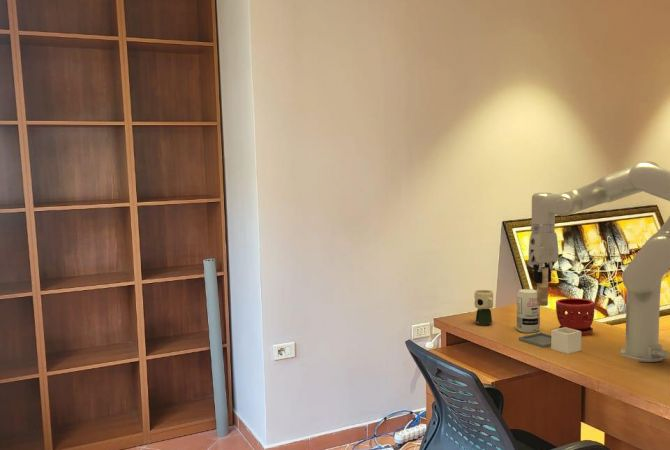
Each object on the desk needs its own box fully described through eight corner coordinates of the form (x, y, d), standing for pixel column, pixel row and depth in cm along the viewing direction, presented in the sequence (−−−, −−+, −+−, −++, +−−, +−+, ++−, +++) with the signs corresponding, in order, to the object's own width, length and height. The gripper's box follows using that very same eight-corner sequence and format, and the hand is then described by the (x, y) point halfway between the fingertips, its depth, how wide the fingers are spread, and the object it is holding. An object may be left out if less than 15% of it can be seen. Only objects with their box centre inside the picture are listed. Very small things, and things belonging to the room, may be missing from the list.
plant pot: (596, 330, 232) (597, 298, 231) (590, 339, 221) (591, 306, 220) (559, 326, 239) (559, 295, 238) (552, 335, 228) (552, 302, 226)
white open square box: (581, 352, 208) (581, 331, 207) (567, 355, 204) (567, 334, 204) (564, 347, 213) (565, 327, 213) (551, 350, 210) (551, 330, 209)
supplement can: (523, 326, 241) (523, 287, 239) (543, 330, 235) (543, 290, 233) (512, 330, 235) (512, 291, 233) (532, 334, 229) (533, 294, 228)
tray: (566, 344, 217) (566, 339, 217) (543, 349, 211) (543, 344, 211) (541, 336, 226) (541, 332, 226) (518, 341, 221) (518, 337, 221)
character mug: (468, 322, 249) (468, 289, 248) (483, 320, 252) (483, 287, 250) (484, 328, 239) (484, 294, 238) (500, 326, 241) (500, 293, 240)
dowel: (550, 305, 217) (550, 267, 215) (542, 306, 215) (543, 268, 214) (541, 303, 220) (542, 266, 218) (534, 304, 218) (535, 267, 217)
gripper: (534, 231, 207) (533, 286, 209) (568, 228, 216) (567, 280, 217) (517, 230, 214) (516, 283, 216) (551, 226, 222) (550, 277, 224)
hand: (542, 281), depth 217 cm, fingers closed on dowel, 3 cm apart
